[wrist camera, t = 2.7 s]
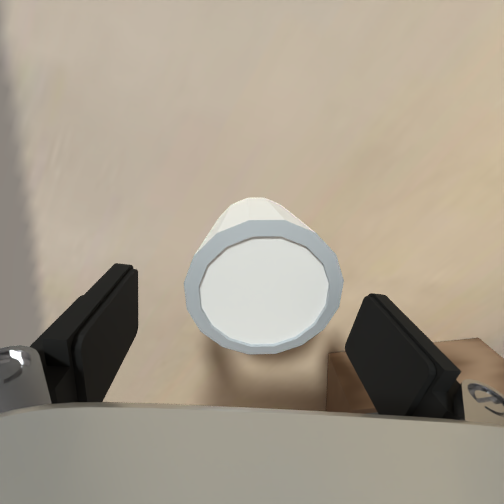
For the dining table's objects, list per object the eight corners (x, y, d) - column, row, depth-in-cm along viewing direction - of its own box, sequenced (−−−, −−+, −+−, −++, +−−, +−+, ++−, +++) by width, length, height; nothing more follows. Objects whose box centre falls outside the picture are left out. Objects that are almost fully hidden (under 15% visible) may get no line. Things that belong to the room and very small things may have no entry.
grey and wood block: (478, 337, 22) (651, 481, 13) (445, 431, 27) (549, 580, 18) (328, 353, 22) (392, 508, 13) (324, 443, 27) (367, 599, 18)
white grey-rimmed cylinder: (266, 297, 19) (280, 376, 13) (185, 251, 17) (154, 317, 11) (326, 224, 17) (378, 276, 11) (241, 164, 15) (241, 182, 9)
